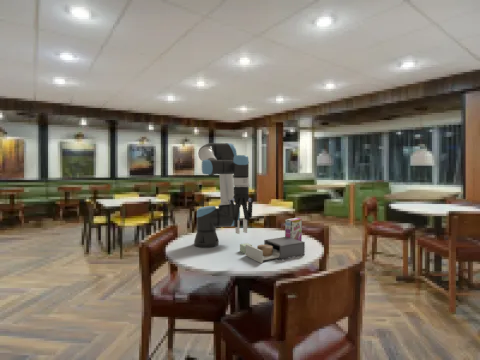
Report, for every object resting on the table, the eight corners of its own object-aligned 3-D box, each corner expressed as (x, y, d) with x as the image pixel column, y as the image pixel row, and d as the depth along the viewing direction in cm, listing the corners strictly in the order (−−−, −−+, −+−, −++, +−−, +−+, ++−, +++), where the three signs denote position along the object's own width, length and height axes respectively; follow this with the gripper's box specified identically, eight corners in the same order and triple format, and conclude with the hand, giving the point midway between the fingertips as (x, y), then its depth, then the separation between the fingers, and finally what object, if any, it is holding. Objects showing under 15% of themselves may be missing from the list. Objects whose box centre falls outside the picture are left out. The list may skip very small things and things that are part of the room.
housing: (286, 248, 170) (286, 236, 170) (304, 254, 157) (304, 242, 157) (264, 252, 162) (264, 240, 162) (280, 259, 149) (280, 246, 149)
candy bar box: (291, 248, 170) (291, 220, 170) (284, 246, 174) (284, 219, 173) (302, 244, 178) (302, 218, 177) (295, 243, 182) (295, 217, 181)
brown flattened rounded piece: (254, 253, 155) (254, 245, 155) (266, 251, 159) (266, 243, 159) (263, 257, 148) (263, 249, 148) (275, 254, 152) (275, 247, 152)
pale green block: (240, 251, 165) (239, 244, 165) (247, 249, 168) (247, 243, 167) (244, 253, 161) (244, 246, 161) (252, 252, 163) (252, 245, 163)
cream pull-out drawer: (269, 251, 164) (269, 240, 164) (286, 258, 151) (286, 246, 151) (245, 255, 156) (245, 244, 156) (261, 263, 143) (261, 251, 143)
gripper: (229, 187, 138) (230, 236, 139) (259, 186, 146) (259, 232, 147) (222, 186, 144) (223, 233, 145) (251, 185, 153) (251, 229, 153)
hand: (241, 232), depth 146 cm, fingers open, 4 cm apart
